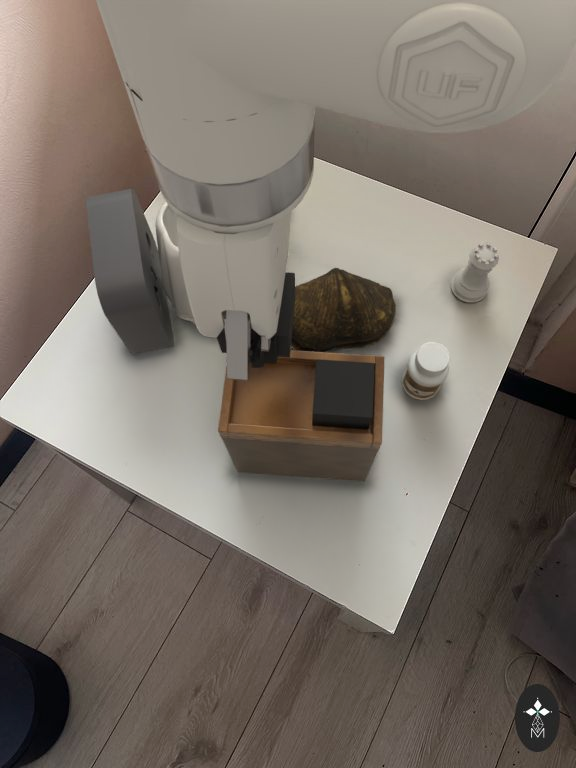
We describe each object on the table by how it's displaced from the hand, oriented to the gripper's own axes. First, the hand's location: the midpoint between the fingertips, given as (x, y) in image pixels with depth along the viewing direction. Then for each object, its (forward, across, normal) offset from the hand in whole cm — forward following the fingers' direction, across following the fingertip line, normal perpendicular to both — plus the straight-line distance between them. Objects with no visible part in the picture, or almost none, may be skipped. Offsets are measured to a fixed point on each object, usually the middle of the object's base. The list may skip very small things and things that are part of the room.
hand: (259, 322), depth 45 cm
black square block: (+12, +2, +7) cm, 14 cm away
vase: (+26, -17, -8) cm, 32 cm away
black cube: (0, 0, 0) cm, 0 cm away
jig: (+26, +2, +3) cm, 27 cm away
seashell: (+27, -13, +5) cm, 30 cm away
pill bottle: (+27, -6, +16) cm, 32 cm away
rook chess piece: (+27, -20, +22) cm, 40 cm away
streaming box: (+19, -13, -20) cm, 31 cm away
